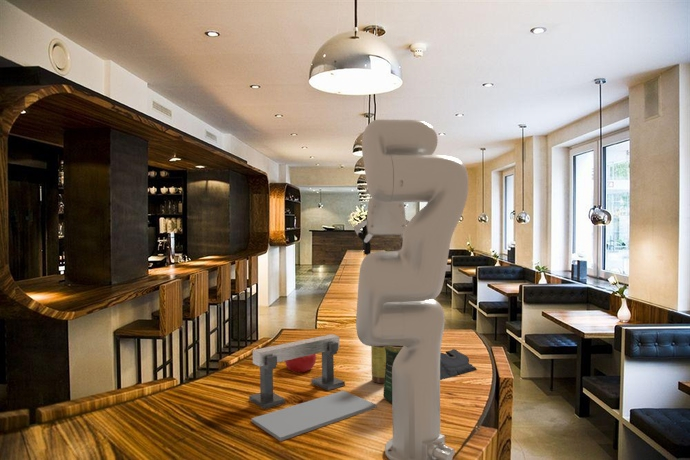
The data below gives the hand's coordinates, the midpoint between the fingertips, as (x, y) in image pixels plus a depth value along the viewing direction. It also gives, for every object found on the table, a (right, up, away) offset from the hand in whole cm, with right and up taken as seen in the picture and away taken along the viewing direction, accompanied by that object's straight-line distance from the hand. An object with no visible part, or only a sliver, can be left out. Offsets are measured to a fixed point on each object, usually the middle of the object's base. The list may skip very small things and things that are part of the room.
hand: (386, 256), depth 127 cm
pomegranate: (-25, -37, +24) cm, 51 cm away
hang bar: (-24, -27, +3) cm, 36 cm away
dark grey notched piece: (+19, -37, +22) cm, 47 cm away
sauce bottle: (0, -37, +12) cm, 39 cm away
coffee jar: (+4, -38, -3) cm, 38 cm away
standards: (-24, -38, +3) cm, 44 cm away
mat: (-18, -38, -12) cm, 43 cm away
